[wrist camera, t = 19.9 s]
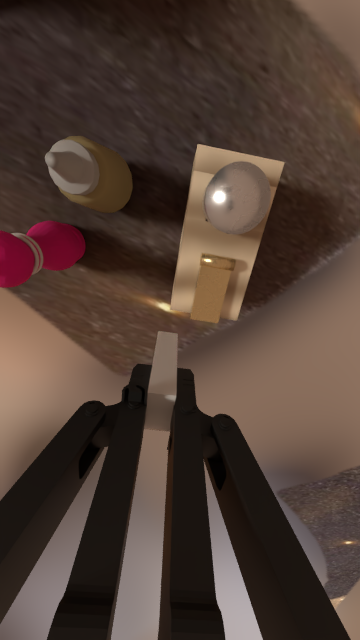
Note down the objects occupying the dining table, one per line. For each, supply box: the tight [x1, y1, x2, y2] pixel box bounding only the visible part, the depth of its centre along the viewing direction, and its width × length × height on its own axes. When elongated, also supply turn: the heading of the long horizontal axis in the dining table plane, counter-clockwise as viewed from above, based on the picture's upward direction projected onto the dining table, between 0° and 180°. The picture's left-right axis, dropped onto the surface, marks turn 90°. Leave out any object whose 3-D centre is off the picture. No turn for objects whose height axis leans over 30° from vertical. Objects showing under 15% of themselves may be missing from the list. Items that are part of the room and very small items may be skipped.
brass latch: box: [190, 253, 236, 323], centre depth 31 cm, size 9×4×2 cm, turn 171°
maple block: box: [170, 144, 284, 320], centre depth 34 cm, size 20×10×10 cm, turn 170°
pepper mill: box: [0, 221, 86, 288], centre depth 30 cm, size 7×7×20 cm
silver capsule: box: [202, 161, 271, 235], centre depth 30 cm, size 7×7×12 cm
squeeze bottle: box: [45, 136, 133, 213], centre depth 28 cm, size 8×8×18 cm
